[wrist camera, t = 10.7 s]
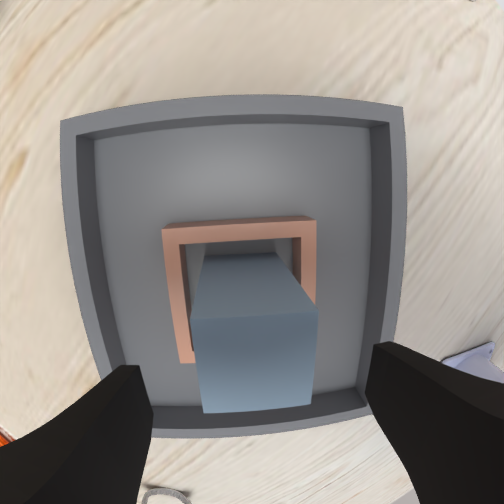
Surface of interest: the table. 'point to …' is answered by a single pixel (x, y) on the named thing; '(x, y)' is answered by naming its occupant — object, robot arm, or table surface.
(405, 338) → the table surface
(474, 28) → the table surface
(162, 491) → the grey ring
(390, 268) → the gray tray
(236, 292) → the block
